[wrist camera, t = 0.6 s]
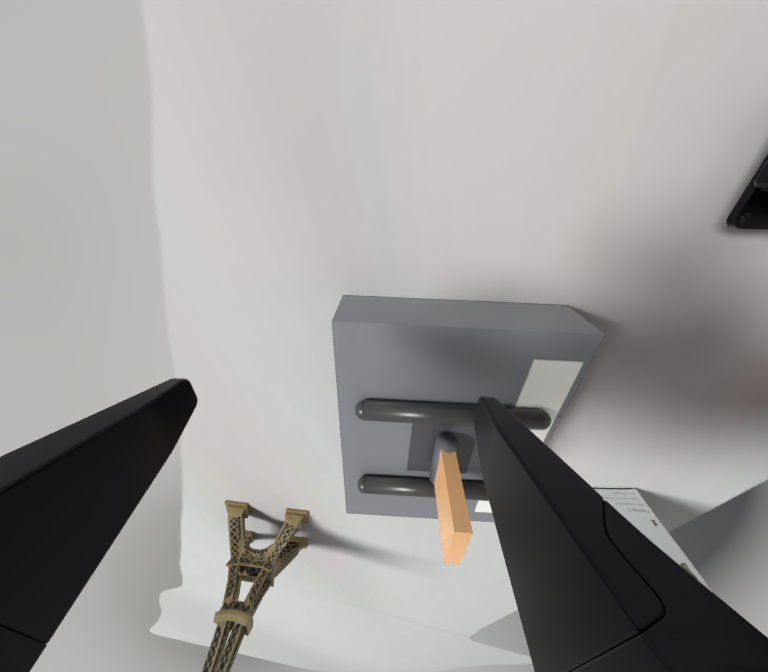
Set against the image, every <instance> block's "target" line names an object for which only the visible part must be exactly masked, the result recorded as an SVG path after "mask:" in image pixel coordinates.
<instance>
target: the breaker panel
mask: <svg viewBox="0 0 768 672" xmlns="http://www.w3.org/2000/svg"><path fill="white" fill-rule="evenodd" d="M332 330H333V343H334V356H335V369H336V382H337V395H338V408H339V421H340V434H341V447H342V460H343V473H344V486H345V499H346V512H347V513H350V514H367V515H383V516H400V517H417V518H433V519H438V512H437V503H436V495H435V486H434V484H433V483H432V482H431V481H430V478H429V473H430V468H431V463H432V458H433V453H434V448H435V443H436V438H437V436H438V435H439V434H440V433H443V432H447V433H451V434H453V435H454V436H455V437H456V438H457V439H458V442H459V446H458V450H457V453H456V456H457V461H458V465H459V470H460V475H461V480H462V484H463V489H464V494H465V499H466V503H467V508H468V513H469V518H470V521H483V522H494V518H493V514H492V510H491V507H490V503H489V499H488V495H487V492H486V488H485V484H484V481H483V476H482V472H481V467H480V461H479V454H478V448H477V441H476V435H475V428H474V413H475V409H476V406H477V402H478V399H479V398H480V397H481V396H489V397H494V398H496V399H497V400H498V401H499V402H500V403H501V404H502V405H503V406H505V407H506V408H507V409H508V410H509V411H510V412H511V413H512V414H513V415H514V416H515V417H516V418H518V419H519V420H520V421H521V422H522V423H523V424H524V425H525V426H526V427H527V428H528V429H529V430H531V431H532V432H533V433H534V434H535V435H536V436H537V437H538V438H539V439H540V440H541V441H542V442H543V443H545V444H546V445H547V444H548V442H549V440H550V438H551V436H552V434H553V432H554V430H555V428H556V427H557V425H558V423H559V421H560V419H561V417H562V415H563V413H564V411H565V409H566V408H567V406H568V404H569V402H570V400H571V398H572V396H573V394H574V392H575V390H576V389H577V387H578V385H579V383H580V381H581V379H582V377H583V375H584V373H585V371H586V370H587V368H588V366H589V364H590V362H591V360H592V358H593V356H594V354H595V352H596V351H597V349H598V347H599V345H600V343H601V341H602V339H603V337H604V335H605V334H604V333H603V332H602V331H601V330H599V329H598V328H597V327H595V326H594V325H593V324H592V323H590V322H589V321H588V320H586V319H585V318H584V317H583V316H581V315H580V314H579V313H577V312H576V311H575V310H573V309H572V308H571V307H570V306H568V305H550V304H528V303H506V302H483V301H461V300H439V299H417V298H395V297H373V296H351V295H343V297H342V299H341V301H340V304H339V306H338V308H337V310H336V313H335V315H334V317H333V320H332Z"/></svg>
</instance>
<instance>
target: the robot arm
mask: <svg viewBox="0 0 768 672" xmlns="http://www.w3.org/2000/svg"><path fill="white" fill-rule="evenodd" d="M743 216H744V217H743ZM742 217H743V218H742ZM741 218H742V219H741ZM727 225H728V226H729V227H733V228H740V229H764V230H768V155H767V156H766V158H765V160H764V161H763V163H762V164H761V166H760V168H759V169H758V171H757V172H756V174H755V175H754V177H753V179H752V180H751V182H750V183H749V185H748V186H747V188H746V190H745V191H744V193H743V194H742V196H741V197H740V199H739V201H738V202H737V204H736V205H735V207H734V208H733V210H732V212H731V213H730V215H729V216H728V219H727ZM196 405H197V396H196V394H195V392H194V390H193V387H192V385H191V383H190V381H189V380H187V379H181V378H173V379H170V380H168V381H165V382H163V383H161V384H159V385H157V386H155V387H152V388H150V389H148V390H146V391H144V392H142V393H139V394H137V395H135V396H133V397H130V398H128V399H126V400H124V401H122V402H119V403H117V404H115V405H113V406H111V407H108V408H106V409H104V410H102V411H100V412H97V413H95V414H93V415H91V416H89V417H87V418H84V419H82V420H80V421H78V422H76V423H74V424H71V425H69V426H67V427H65V428H62V429H60V430H58V431H56V432H54V433H51V434H49V435H47V436H45V437H43V438H41V439H38V440H36V441H34V442H32V443H30V444H27V445H25V446H23V447H21V448H18V449H16V450H14V451H12V452H10V453H8V454H5V455H3V456H1V457H0V672H30V670H31V669H32V667H33V666H34V664H35V662H36V661H37V659H38V658H39V656H40V655H41V653H42V652H43V650H44V649H45V647H46V646H47V644H46V643H48V642H49V641H50V639H51V637H52V636H53V634H54V633H55V631H56V630H57V628H58V627H59V625H60V624H61V622H62V620H63V619H64V617H65V616H66V614H67V613H68V611H69V610H70V608H71V607H72V605H73V603H74V602H75V600H76V599H77V597H78V596H79V594H80V593H81V591H82V590H83V588H84V587H85V585H86V584H87V582H88V580H89V579H90V577H91V576H92V574H93V573H94V571H95V570H96V568H97V567H98V565H99V564H100V562H101V560H102V559H103V557H104V556H105V554H106V552H107V551H108V550H109V548H110V547H111V545H112V544H113V542H114V540H115V539H116V537H117V536H118V534H119V533H120V531H121V530H122V528H123V527H124V525H125V524H126V522H127V520H128V518H129V517H130V516H131V514H132V513H133V511H134V510H135V508H136V506H137V505H138V504H139V502H140V500H141V499H142V497H143V496H144V494H145V493H146V491H147V490H148V488H149V486H150V485H151V484H152V482H153V480H154V479H155V477H156V476H157V474H158V473H159V471H160V470H161V468H162V467H163V465H164V463H165V462H166V460H167V459H168V457H169V455H170V454H171V452H172V451H173V449H174V447H175V445H176V444H177V442H178V440H179V438H180V436H181V434H182V432H183V430H184V428H185V426H186V425H187V423H188V421H189V419H190V417H191V415H192V413H193V411H194V409H195V407H196ZM474 428H475V435H476V441H477V448H478V454H479V461H480V467H481V472H482V476H483V481H484V484H485V488H486V492H487V495H488V499H489V503H490V507H491V510H492V514H493V518H494V522H495V525H496V529H497V533H498V536H499V540H500V544H501V548H502V551H503V555H504V559H505V563H506V566H507V570H508V574H509V577H510V581H511V585H512V589H513V592H514V596H515V600H516V604H517V607H518V611H519V615H520V618H521V622H522V626H523V630H524V633H525V637H526V640H527V644H528V648H529V652H530V656H531V659H532V663H533V667H534V671H535V672H768V638H767V637H766V636H765V635H763V634H762V633H761V632H760V631H759V630H757V629H756V628H755V627H754V626H753V625H751V624H750V623H749V622H748V621H746V620H745V619H744V618H743V617H742V616H740V615H739V614H738V613H737V612H736V611H734V610H733V609H732V608H731V607H730V606H728V605H727V604H726V603H725V602H723V601H722V600H721V599H720V598H719V597H717V596H716V595H715V594H714V593H713V592H711V591H710V590H709V589H708V588H707V587H705V586H704V585H703V584H702V583H701V582H699V581H698V580H697V579H696V578H694V577H693V576H692V575H691V574H690V573H688V572H687V571H686V570H685V569H684V568H682V567H681V566H680V565H679V564H678V563H677V562H675V561H674V560H673V559H672V558H671V557H669V556H668V555H667V554H666V553H665V552H664V551H662V550H661V549H660V548H659V547H658V546H656V545H655V544H654V543H653V542H652V541H651V540H649V539H648V538H647V537H646V536H645V535H644V534H643V533H642V532H640V531H639V530H638V529H637V528H636V527H635V526H634V525H633V524H632V523H630V522H629V521H628V520H627V519H626V518H625V517H624V516H623V515H622V514H620V513H619V512H618V511H617V510H616V509H615V508H614V507H613V506H612V505H611V504H610V503H609V502H607V501H606V500H603V497H602V496H601V495H600V494H599V493H598V492H596V491H595V490H594V489H593V488H592V487H591V486H590V485H589V484H588V483H587V482H586V481H585V480H584V479H582V478H581V477H580V476H579V475H578V474H577V473H576V472H575V471H574V470H573V469H572V468H571V467H569V466H568V465H567V464H566V463H565V462H564V461H563V460H562V459H561V458H560V457H559V456H558V455H556V454H555V453H554V452H553V451H552V450H551V449H550V448H549V447H548V446H547V445H546V444H545V443H543V442H542V441H541V440H540V439H539V438H538V437H537V436H536V435H535V434H534V433H533V432H532V431H531V430H529V429H528V428H527V427H526V426H525V425H524V424H523V423H522V422H521V421H520V420H519V419H518V418H516V417H515V416H514V415H513V414H512V413H511V412H510V411H509V410H508V409H507V408H506V407H505V406H503V405H502V404H501V403H500V402H499V401H498V400H497V399H496V398H494V397H489V396H481V397H480V398H479V399H478V402H477V406H476V409H475V413H474Z"/></svg>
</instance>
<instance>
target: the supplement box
mask: <svg viewBox="0 0 768 672" xmlns="http://www.w3.org/2000/svg"><path fill="white" fill-rule="evenodd" d="M594 490H595V491H596V492H598V493H599V494H600V495H601V496H602V497H603V500H606V501H607V502H609V503H610V504H611V505H612V506H613V507H614V508H615V509H616V510H617V511H618V512H619V513H620V514H622V515H623V516H624V517H625V518H626V519H627V520H628V521H629V522H630V523H632V524H633V525H634V526H635V527H636V528H637V529H638V530H639V531H640V532H642V533H643V534H644V535H645V536H646V537H647V538H648V539H649V540H651V541H652V542H653V543H654V544H655V545H656V546H658V547H659V548H660V549H661V550H662V551H664V552H665V553H666V554H667V555H668V556H669V557H671V558H672V559H673V560H674V561H675V562H677V563H678V564H679V565H680V566H681V567H682V568H684V569H685V570H686V571H687V572H688V573H690V574H691V575H692V576H693V577H694V578H696V579H697V580H698V581H699V582H701V583H702V584H703V585H704V586H705V587H707V588H708V589H709V590H710V591H711V592H712V590H711V589H710V588H709V587H708V585H707V584H706V582H705V581H704V580H703V578H702V577H701V576H700V574H699V573H698V572H697V570H696V569H695V568H694V566H693V565H692V564H691V562H690V561H689V559H688V558H687V557H686V555H685V554H684V553H683V551H682V550H681V549H680V547H679V546H678V545H677V543H676V542H675V541H674V539H673V538H672V537H671V535H670V534H669V533H668V531H667V530H666V528H665V527H664V526H663V524H662V523H661V522H660V520H659V519H658V518H657V516H656V515H655V514H654V512H653V511H652V510H651V508H650V507H649V506H648V504H647V503H646V502H645V500H644V499H643V498H642V496H641V495H640V494H639V492H638V491H637V490H636V489H626V490H624V489H594Z"/></svg>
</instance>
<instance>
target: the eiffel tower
mask: <svg viewBox="0 0 768 672" xmlns="http://www.w3.org/2000/svg"><path fill="white" fill-rule="evenodd" d="M225 505H226V509H227V512H228V525H229V540H230V553H231V559H230V560H229V562H228V563H227V564H226V566H228V569H229V572H228V582H227V586H226V591H225V596H224V601H223V605H222V607H221V609H220V611H219V612H216V613H215V618H214V622H213V623H217V628H216V631H215V634H214V637H213V640H212V643H211V646H210V649H209V652H208V655H207V658H206V661H205V665H204V667H203V671H202V672H230V669H231V667H232V664H233V662H234V659H235V657H236V654H237V652H238V649H239V647H240V644H241V642H242V639H243V637H244V634H245V635H247V636H248V635H249V633H250V631H251V629H252V627H253V615H254V613H255V611H256V610H257V608H258V606H259V604H260V602H261V600H262V598H263V596H264V595H265V593H266V592H267V590H268V589H269V587H270V586H272V587H273V586H274V578H275V577H276V576H277V575H278V574H279V573H280V572H281V571H282V570H283V569H284V568H285V567H286V566H287V565H288V564H289V563H290V562H291V561H292V560H293V559H294V558H295V557H296V556H297V555H298V553H299V551H300V550H301V549H303V548H306V546H307V538H301V537H293V536H294V535H295V533H296V532H297V531H298V530H299V529H300V528H301V525H303V523H307V520H308V511H306V510H298V509H291V508H287V509H286V514H285V519H286V520H285V522H284V524H283V526H282V528H281V530H280V532H279V534H278V536H277V537H276V539H275V541H274V543H273V544H272V545H270V546H269V547H267V548H265V549H261V550H258V549H253V548H251V547H250V546H249V545H250V543H252V542H254V537H253V531H245V518H248V515H249V509H248V504H247V503H244V502H236V501H229V500H226V501H225ZM286 543H287V544H286ZM285 544H286V545H285ZM284 545H285V546H284ZM283 546H284V547H283ZM241 581H245V582H253V585H252V587H251V589H250V591H249V593H248V595H247V597H246V599H245V601H244V602H242V601H238V598H239V593H240V586H241ZM230 631H231V634H230V636H229V639H228V641H227V638H228V635H229V632H230ZM226 641H227V644H226ZM225 644H226V647H225ZM224 647H225V649H224ZM223 650H224V652H223ZM222 653H223V654H222ZM221 656H222V657H221Z"/></svg>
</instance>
